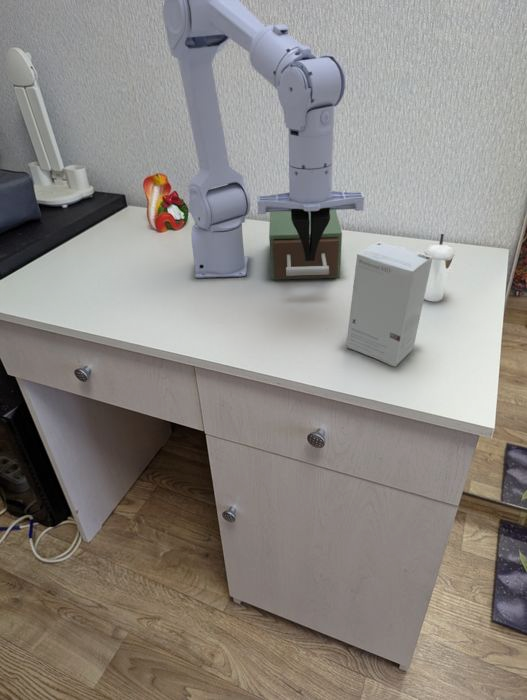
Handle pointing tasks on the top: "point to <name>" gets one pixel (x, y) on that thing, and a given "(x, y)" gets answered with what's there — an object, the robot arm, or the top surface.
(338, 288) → the top surface
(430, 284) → the milkshake
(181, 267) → the top surface
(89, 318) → the top surface
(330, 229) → the cabinet
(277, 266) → the drawer
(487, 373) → the top surface
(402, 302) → the cosmetic box
